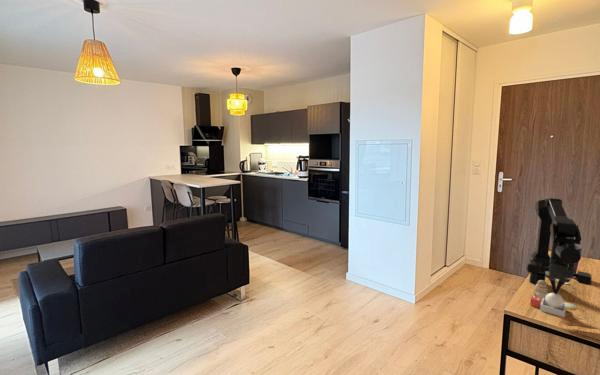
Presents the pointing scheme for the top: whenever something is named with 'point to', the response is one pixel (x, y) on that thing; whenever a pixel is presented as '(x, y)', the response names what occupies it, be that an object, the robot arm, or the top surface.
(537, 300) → the red die
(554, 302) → the white ball
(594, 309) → the top surface
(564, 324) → the top surface
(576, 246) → the cup
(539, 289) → the pawn
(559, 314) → the game board
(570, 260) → the robot arm
